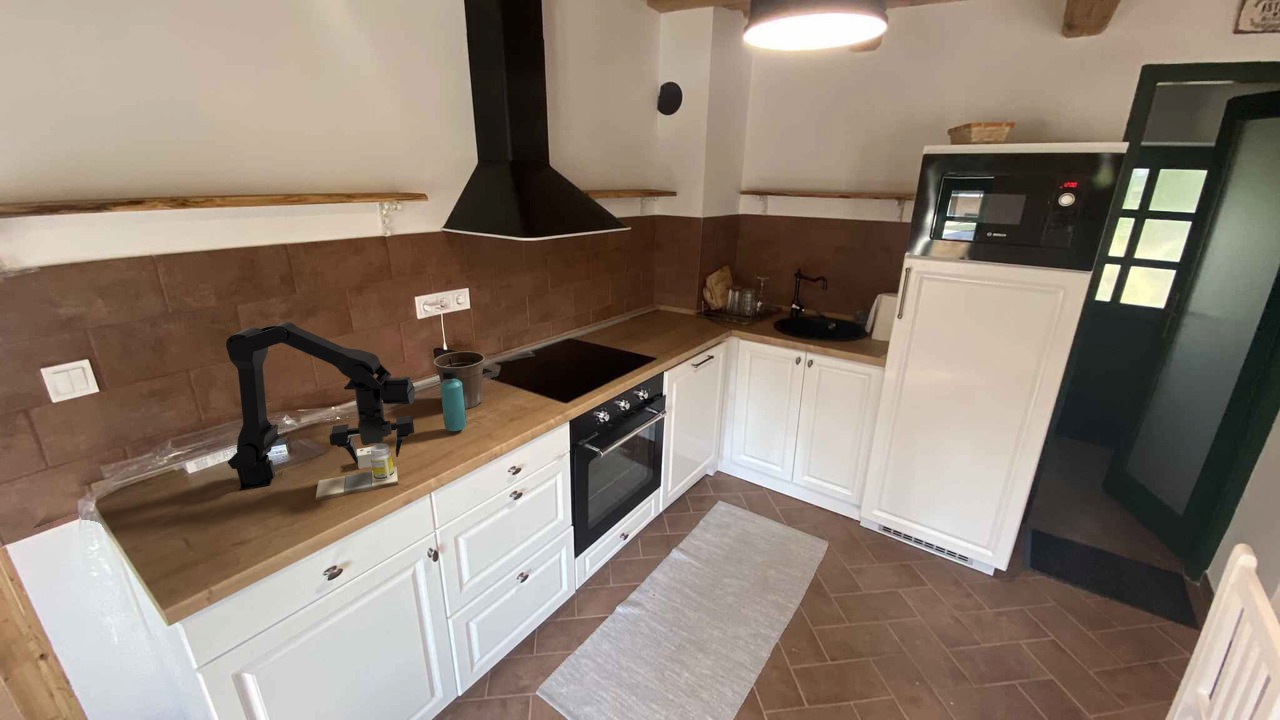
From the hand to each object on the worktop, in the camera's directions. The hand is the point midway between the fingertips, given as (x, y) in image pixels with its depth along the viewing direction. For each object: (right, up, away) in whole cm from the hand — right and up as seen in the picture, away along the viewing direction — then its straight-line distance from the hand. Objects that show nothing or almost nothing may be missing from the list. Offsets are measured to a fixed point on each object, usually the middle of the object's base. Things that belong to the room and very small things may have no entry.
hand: (377, 459), depth 134 cm
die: (-6, -3, +7) cm, 10 cm away
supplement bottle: (+2, -4, 0) cm, 5 cm away
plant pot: (+6, +11, +46) cm, 48 cm away
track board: (-4, -6, -2) cm, 7 cm away
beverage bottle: (+11, +4, +27) cm, 29 cm away
